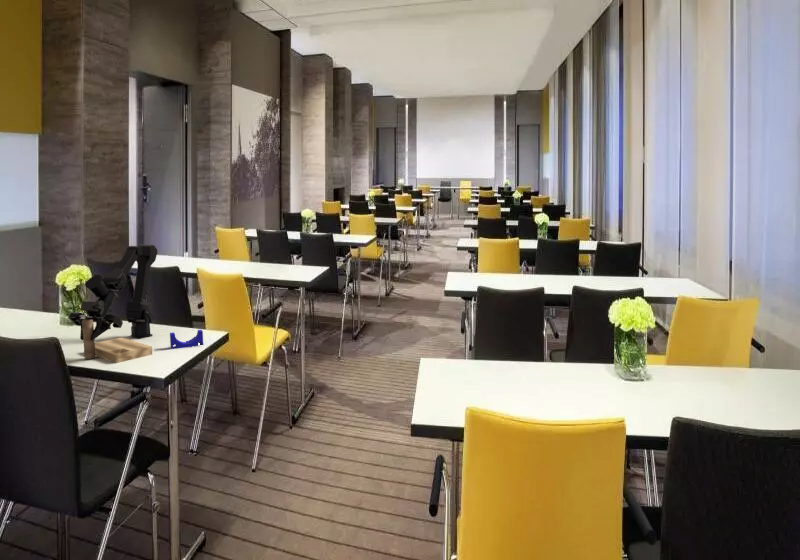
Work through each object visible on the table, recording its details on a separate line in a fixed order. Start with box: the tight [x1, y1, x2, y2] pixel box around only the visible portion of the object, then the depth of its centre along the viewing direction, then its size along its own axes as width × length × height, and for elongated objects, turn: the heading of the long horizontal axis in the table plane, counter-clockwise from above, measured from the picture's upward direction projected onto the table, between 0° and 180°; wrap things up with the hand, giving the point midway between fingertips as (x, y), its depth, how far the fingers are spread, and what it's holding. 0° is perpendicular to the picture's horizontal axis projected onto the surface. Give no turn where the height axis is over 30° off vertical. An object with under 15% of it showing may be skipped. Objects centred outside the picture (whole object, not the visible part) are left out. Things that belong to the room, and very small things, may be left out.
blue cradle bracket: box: [169, 329, 204, 350], centre depth 230 cm, size 12×4×6 cm, turn 118°
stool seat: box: [95, 337, 153, 364], centre depth 219 cm, size 14×22×3 cm, turn 54°
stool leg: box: [82, 319, 97, 360], centre depth 211 cm, size 4×4×14 cm
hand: (86, 339), depth 210 cm, fingers closed on stool leg, 4 cm apart
